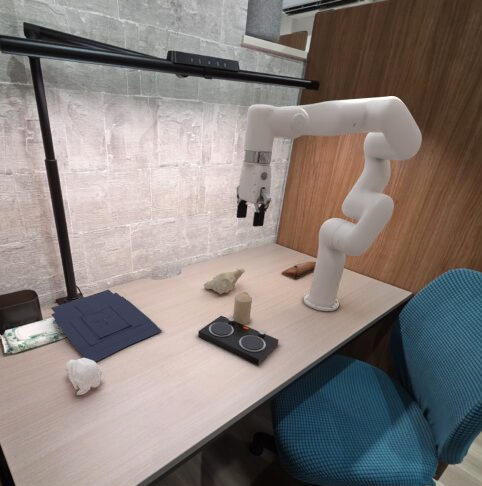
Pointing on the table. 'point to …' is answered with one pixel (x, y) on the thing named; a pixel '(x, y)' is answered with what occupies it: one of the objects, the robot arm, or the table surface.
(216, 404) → the table surface
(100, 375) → the crumpled paper
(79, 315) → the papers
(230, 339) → the hot plate
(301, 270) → the sunglasses case
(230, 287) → the cream lumpy piece
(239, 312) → the candle
